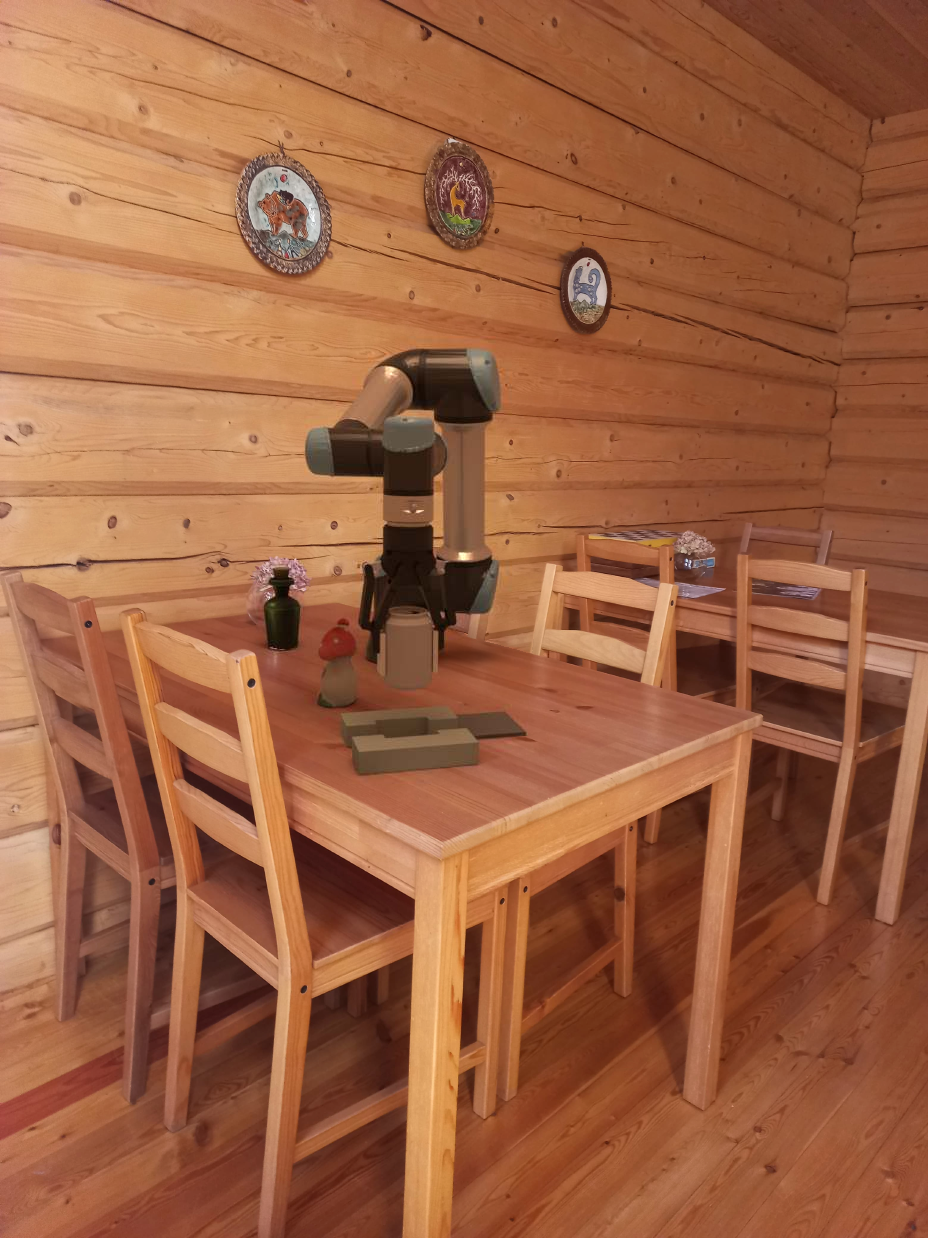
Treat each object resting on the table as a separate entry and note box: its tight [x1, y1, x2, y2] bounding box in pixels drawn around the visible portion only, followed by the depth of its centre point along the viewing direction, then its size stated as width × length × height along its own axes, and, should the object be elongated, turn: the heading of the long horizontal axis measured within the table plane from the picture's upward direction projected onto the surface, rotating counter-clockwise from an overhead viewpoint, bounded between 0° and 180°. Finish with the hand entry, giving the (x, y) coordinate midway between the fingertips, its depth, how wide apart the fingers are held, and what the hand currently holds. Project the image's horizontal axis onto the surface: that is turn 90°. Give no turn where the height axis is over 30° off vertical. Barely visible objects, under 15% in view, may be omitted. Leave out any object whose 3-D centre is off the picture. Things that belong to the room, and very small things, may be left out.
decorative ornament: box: [316, 618, 358, 709], centre depth 160 cm, size 9×6×15 cm
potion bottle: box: [263, 566, 301, 649], centre depth 198 cm, size 8×8×18 cm
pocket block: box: [339, 705, 480, 776], centre depth 139 cm, size 18×18×4 cm
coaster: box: [455, 710, 527, 740], centre depth 150 cm, size 11×11×1 cm
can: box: [382, 606, 433, 692], centre depth 136 cm, size 8×8×12 cm
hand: (407, 671), depth 137 cm, fingers closed on can, 7 cm apart
